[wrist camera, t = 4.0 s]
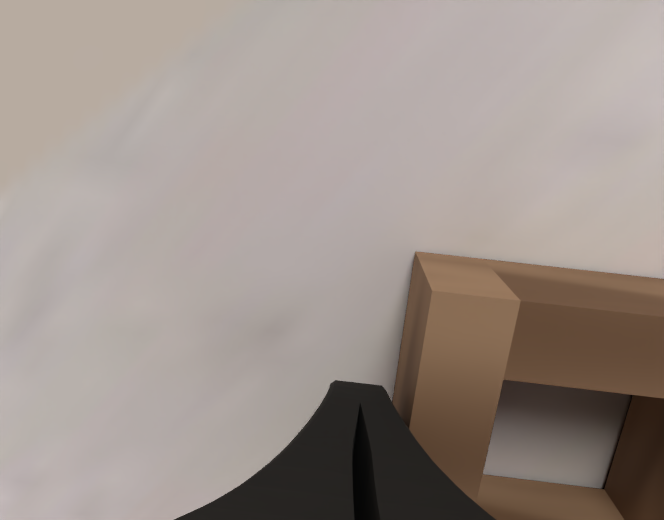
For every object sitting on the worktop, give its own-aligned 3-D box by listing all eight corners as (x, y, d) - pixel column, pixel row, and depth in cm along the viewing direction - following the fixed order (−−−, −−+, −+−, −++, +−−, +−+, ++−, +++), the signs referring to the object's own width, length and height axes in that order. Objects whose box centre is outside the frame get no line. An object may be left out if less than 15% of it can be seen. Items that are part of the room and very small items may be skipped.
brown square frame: (647, 544, 14) (721, 651, 11) (375, 510, 14) (379, 606, 12) (737, 287, 12) (856, 339, 9) (415, 251, 12) (432, 290, 9)
